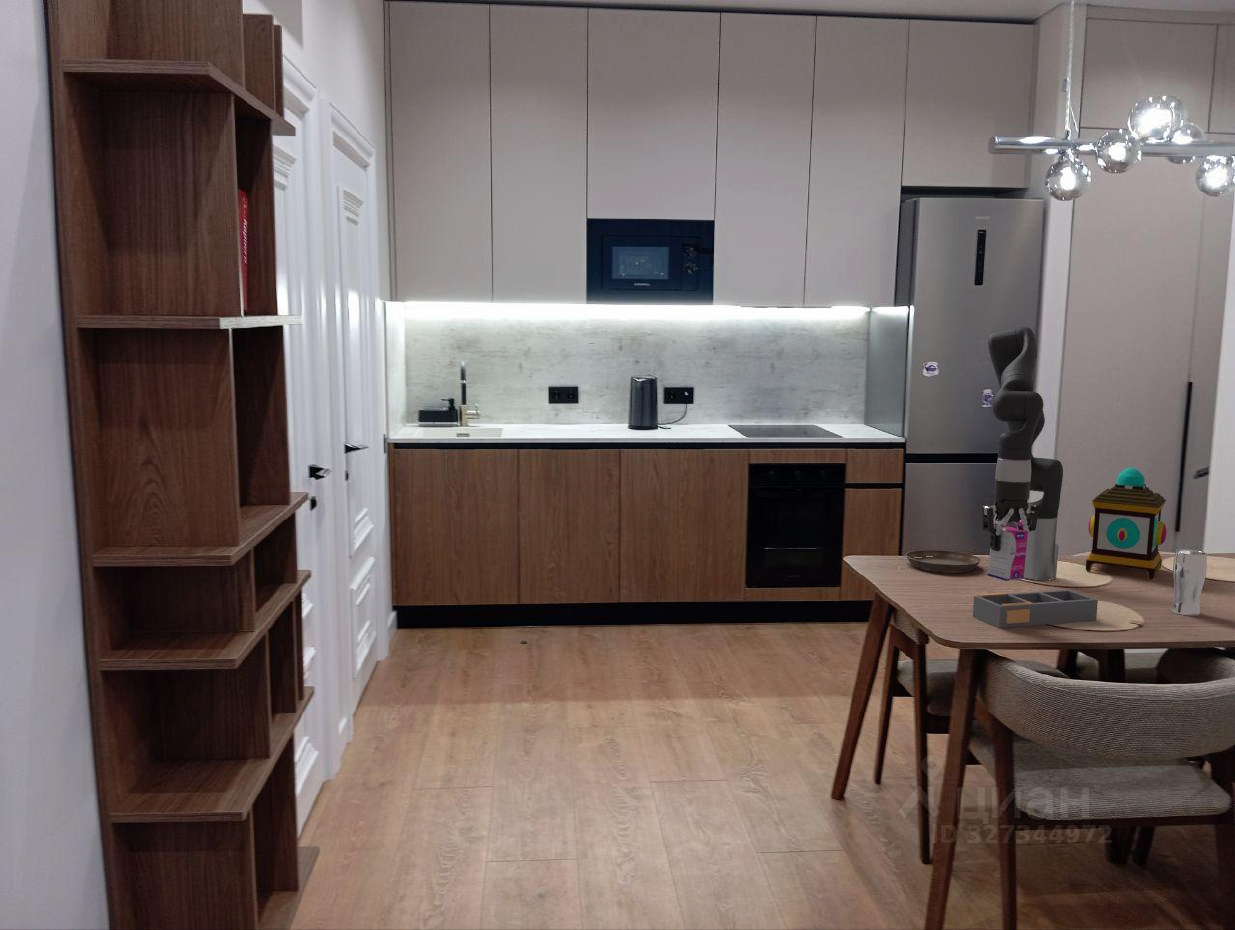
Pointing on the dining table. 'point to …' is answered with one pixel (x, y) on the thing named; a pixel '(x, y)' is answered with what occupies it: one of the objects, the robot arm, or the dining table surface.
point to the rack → (1034, 608)
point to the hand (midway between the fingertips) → (1007, 549)
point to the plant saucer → (943, 561)
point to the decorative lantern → (1127, 525)
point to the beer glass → (1188, 581)
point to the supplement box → (1009, 555)
